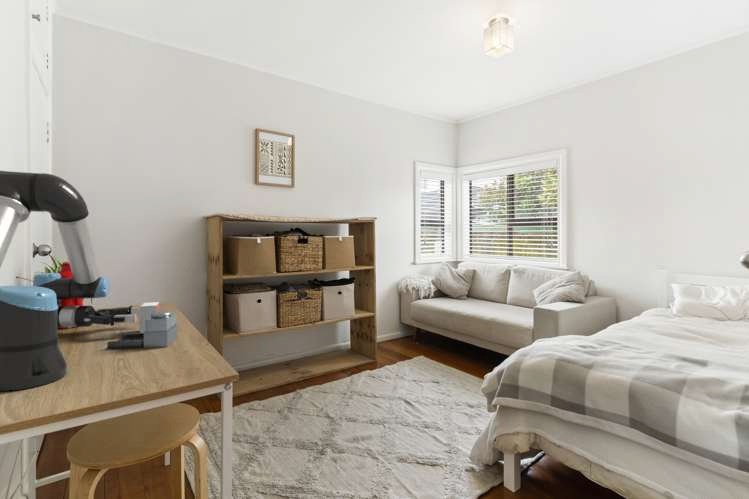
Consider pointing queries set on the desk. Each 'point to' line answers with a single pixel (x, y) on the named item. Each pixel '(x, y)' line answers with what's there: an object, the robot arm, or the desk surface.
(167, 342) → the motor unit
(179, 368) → the desk surface
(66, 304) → the water bottle
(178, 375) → the desk surface
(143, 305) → the small box
